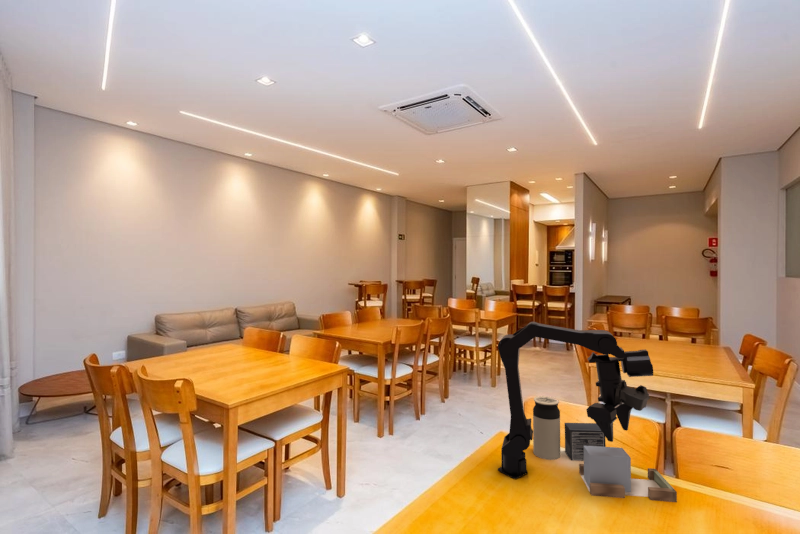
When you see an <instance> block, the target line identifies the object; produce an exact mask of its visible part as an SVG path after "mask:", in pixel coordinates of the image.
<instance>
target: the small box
mask: <svg viewBox="0 0 800 534" xmlns="http://www.w3.org/2000/svg"><path fill="white" fill-rule="evenodd" d="M584 446H600V447H607V446H606V437H605V435H604V434H603V432H602V431H601V429H600V428H599V426H598V425H597V424H596V422H564V452H565V454H566V455H567V457H568V459H569V460H570V461H573V462H574V461H576V462H577V461H579V462H580V461H581V462H584Z"/></svg>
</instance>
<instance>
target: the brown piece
mask: <svg viewBox="0 0 800 534" xmlns="http://www.w3.org/2000/svg"><path fill="white" fill-rule="evenodd" d="M578 468H579V469H578V472H579V475H580V477H581V479H582V481H583V483H584V485H585V486H586V488H587V490H588V492H589V494H590V495H591V497H592V496H593V497H607V498H618V499H625V498H626V496H631V497H645V498H646V497H647V498H648V499H649V500H650V501H655V502H656V501H657V502H658V501H659V502H669V503H671V502H672V503H677V502H678V499H677V498H678V496H677V494H678V493H677V490H676V489H675V488H674V487H673V486H672V485H671V483H669V482H668V481H667V479H666V478H665V477H664V476H663V475H662V474H661V473H660V472H659V471H658V470H657V468H650V467H648V468H647V478H648V479H642V478H640V479H639V478H631V492H625V488H624V486H623V485H615V484H602V483H590V488H589V486H588V485H587V483H586V481H585V479H584V463H579V464H578Z"/></svg>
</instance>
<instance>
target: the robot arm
mask: <svg viewBox="0 0 800 534" xmlns="http://www.w3.org/2000/svg"><path fill="white" fill-rule="evenodd" d="M534 338H538V339H545V340H550V341H555V342H561V343H566V344H572V345H576V346H577V345H578V346H581V347H584V348H585V349H587V350H590V351H593V352H591V354H590V355H589V357H587V361H588V363H589V364H594V363H595V368H596V373H597V379H598V380H597V381H596V382H595V387H599V394H600V396H598V397H597V401H598V402H594V403H593V404H591V405H588V407H587V408H586V414H587V415H586V416H587V417H588V418H590V419H591V420H593V421H594V423H596V424H597V425H598V426H599V428H600V429H601V431H602V432H603V434H604V435H605V439H607V441H608V442H610V443H613V442H614V422H615V421H616V420H618V421H619V423H620V426H621V429H622V430H623V431H628V430H629V424H630V419H631V418H630V417H631V413H632V412H631V411H632V409H634V410H635V411H643V409H645V408H646V407H647V403H648V401H649V400H650V399H651V398H650V393H649V392H648V389H647V387H646V386H644V385H641V384H640V385H638V386H637V387H636V388H635V387H629V386H628V383H627V381H626V380H625V379H622V374H626V375H627V376H628V377H629V378H633V377H634V378H637V377H653V376H654V366H653V365H654V364H653V363H652V361H651V358H650V356H649V351H648V350H647V349H638V350H629V351H625V350H624V349H623V348H622V347H621V346H619V345H618V341H617V339H616V337H615V336H614V335H613V334H612V333H611V332H610V331H608V330H604V329H588V330H587V329H586V330H582V329H581V330H579V329H573V328H567V327H561V326H556V325H550V324H544V323H540V322H536V321H530V322H529V323H527V324H526V325H524V326H523V327H522V328H520V329H519V330H517V331H515V332H514V333H513V334H511V333H510V334H506V335H503V336H502V337H501V339H500V341H499V342H498V344H497V350H498V352H499V353H498V354H499V357H500V359H501V362H502V363H501V364H502V365H503V367H504V370H505V380H506V387H507V388H506V389H507V396H508V404H509V413H510V421H509V423H510V424H509V432H508V433H507V434H506V435H505V436H504V438H503V442H502V445H501V455H500V457H501V458H500V459H501V466H500V467H498V468H497V471H499V472H501V473H502V474H505V475H506V476H508V477H509V478H512V479H514V480H515V479H519V478H521V477H523V476H525V475H527V474H528V470H527V458H526V452H525V451H526V450H527V449H528V448H529V447H530V445H531V441H533V428H532V418H527V417H526V414H525V409H524V400H523V394H522V385H521V377H520V367H519V363H520V350H521V348H522V347H524V346H525V345H527V344H528V343H529V342H531V341H532V340H533V339H534ZM596 353H597V354H596ZM609 355H612V356H609ZM620 364H621V365H620ZM620 366H621V367H620ZM621 370H622V372H623V373H621ZM600 402H601V403H600Z"/></svg>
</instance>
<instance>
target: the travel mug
mask: <svg viewBox="0 0 800 534" xmlns="http://www.w3.org/2000/svg"><path fill="white" fill-rule="evenodd" d="M533 401H534V406H533V408H532V422H533V423H532V427H533V428H532V430H533V437H532V441H533V443H532V445H533V455H534V456H536V457H538V458H540V459H543V460H548V461H551V460H552V461H554V460H559V458H561V410H560V409H559V407H558V406H559V403H560V401H559V399H557V398H556V397H553V396H544V395H542V396H541V395H540V396H536V397H534V398H533Z"/></svg>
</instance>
